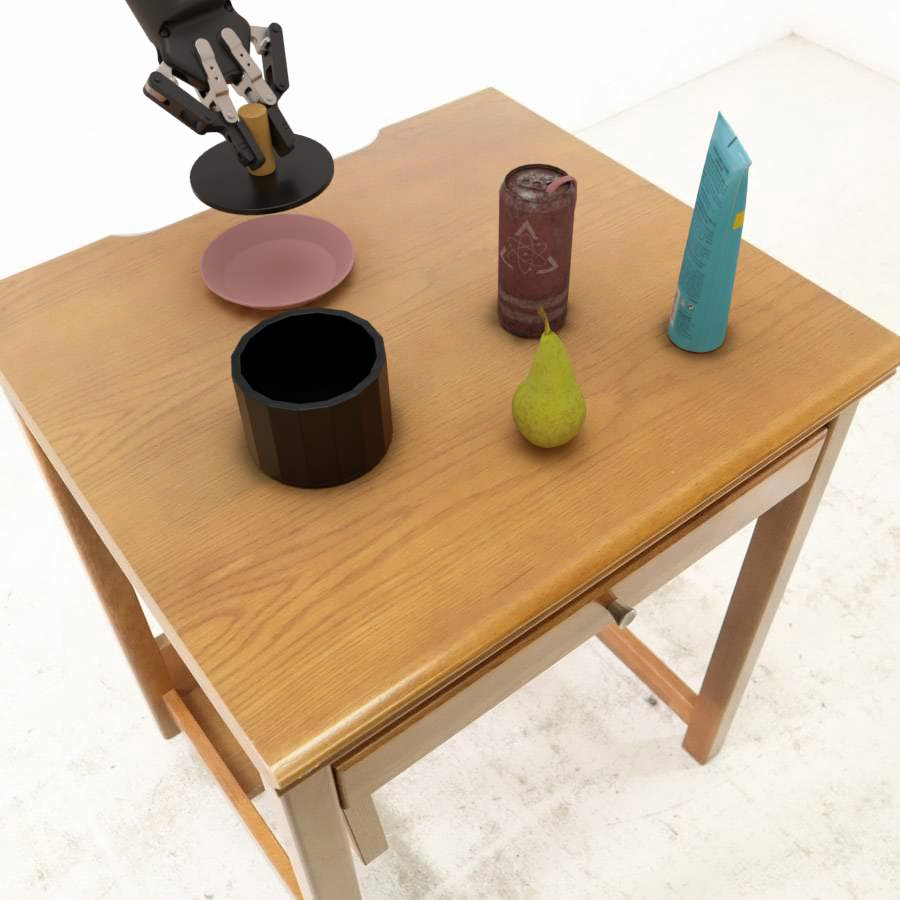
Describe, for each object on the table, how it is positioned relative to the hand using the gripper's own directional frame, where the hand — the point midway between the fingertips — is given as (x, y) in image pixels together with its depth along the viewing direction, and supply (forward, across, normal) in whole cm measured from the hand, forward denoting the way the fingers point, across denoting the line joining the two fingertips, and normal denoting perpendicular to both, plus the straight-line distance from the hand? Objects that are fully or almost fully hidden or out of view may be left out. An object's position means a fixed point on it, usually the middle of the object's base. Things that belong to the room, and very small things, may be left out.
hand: (273, 158), depth 89 cm
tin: (+21, -11, -3) cm, 24 cm away
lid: (0, 0, +3) cm, 3 cm away
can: (+23, +12, -4) cm, 26 cm away
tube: (+31, +20, -13) cm, 39 cm away
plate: (+8, 0, +11) cm, 13 cm away
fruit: (+31, +2, -12) cm, 33 cm away
